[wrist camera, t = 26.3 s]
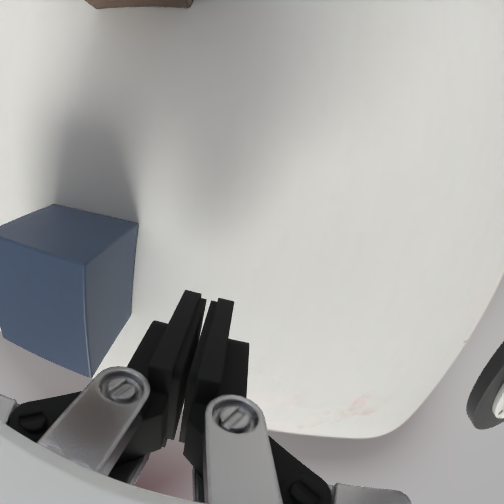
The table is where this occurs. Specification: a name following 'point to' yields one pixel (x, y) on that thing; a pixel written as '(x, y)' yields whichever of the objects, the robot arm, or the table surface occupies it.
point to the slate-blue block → (66, 284)
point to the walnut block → (139, 3)
